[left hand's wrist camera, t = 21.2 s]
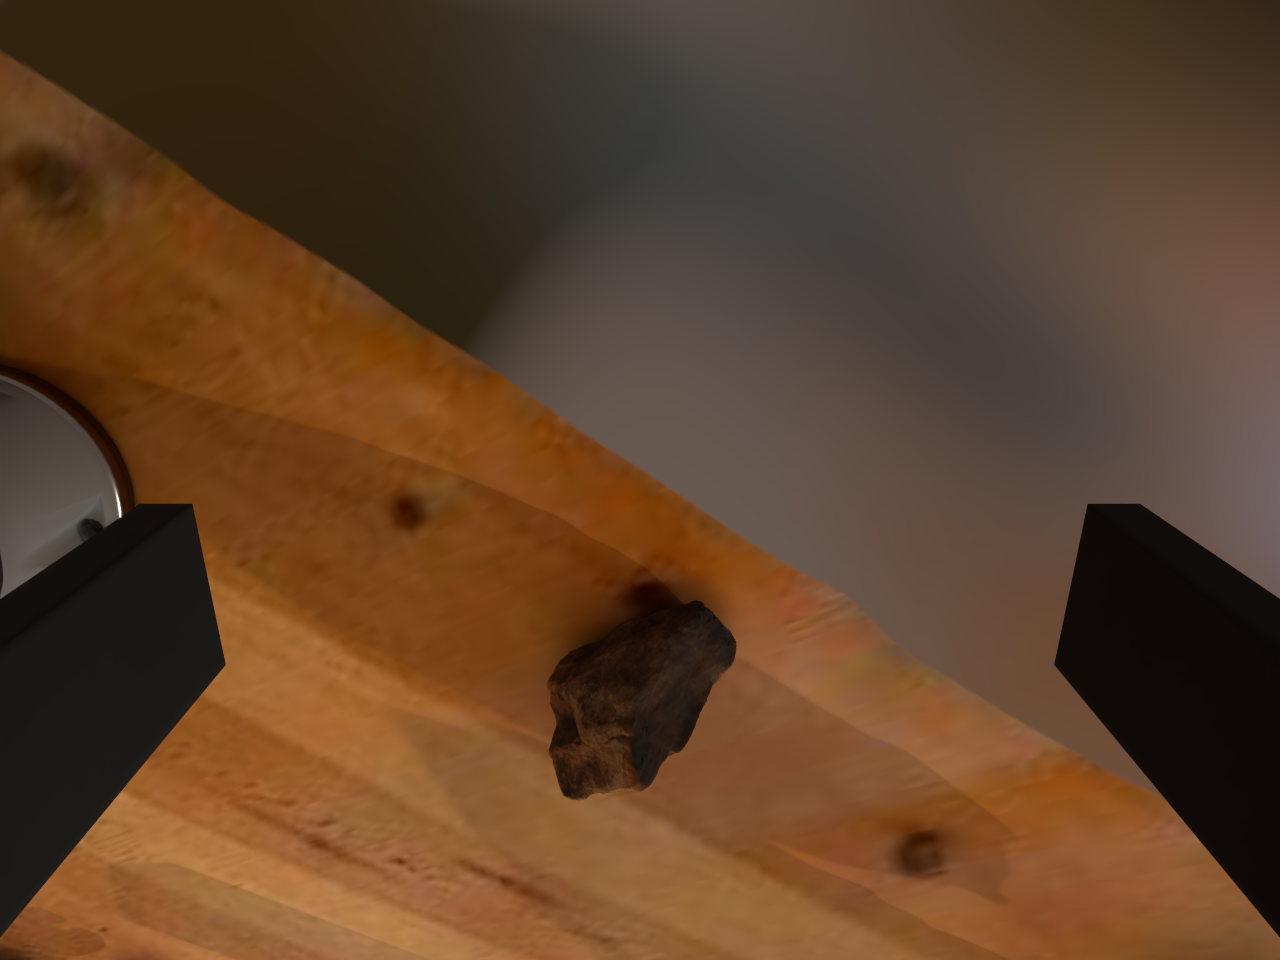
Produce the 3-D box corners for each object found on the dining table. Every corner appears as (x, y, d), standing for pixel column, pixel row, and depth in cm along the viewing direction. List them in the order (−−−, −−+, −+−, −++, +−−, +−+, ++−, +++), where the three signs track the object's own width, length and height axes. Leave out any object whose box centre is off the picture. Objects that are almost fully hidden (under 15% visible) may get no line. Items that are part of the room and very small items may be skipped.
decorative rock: (579, 716, 56) (566, 839, 45) (535, 646, 54) (511, 758, 44) (743, 647, 54) (767, 759, 44) (704, 572, 52) (720, 671, 42)
